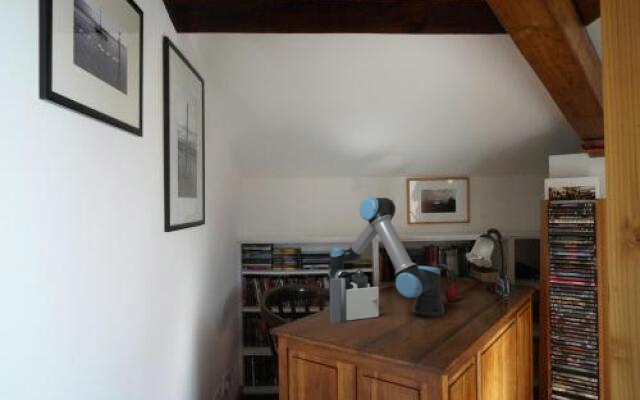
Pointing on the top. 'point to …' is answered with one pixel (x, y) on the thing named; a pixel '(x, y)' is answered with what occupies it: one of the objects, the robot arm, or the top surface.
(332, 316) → the wall frame
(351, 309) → the door
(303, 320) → the top surface
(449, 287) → the headphones
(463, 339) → the top surface
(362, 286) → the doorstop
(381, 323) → the top surface
